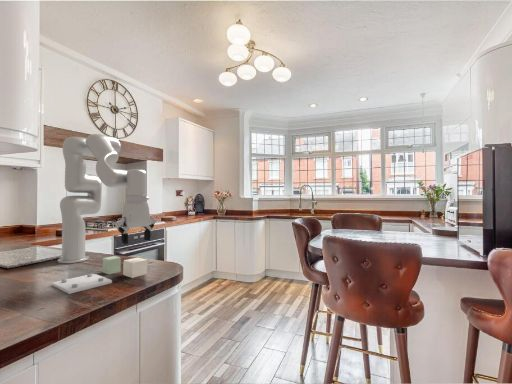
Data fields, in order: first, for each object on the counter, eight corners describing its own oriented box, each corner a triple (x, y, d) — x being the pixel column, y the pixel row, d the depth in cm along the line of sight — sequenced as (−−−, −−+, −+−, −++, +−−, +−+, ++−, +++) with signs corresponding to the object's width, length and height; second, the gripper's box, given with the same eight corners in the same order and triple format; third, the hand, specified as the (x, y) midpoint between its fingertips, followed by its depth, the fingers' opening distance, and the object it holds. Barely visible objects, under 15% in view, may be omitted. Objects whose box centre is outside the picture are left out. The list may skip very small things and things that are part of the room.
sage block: (102, 272, 114) (102, 258, 114) (114, 269, 118) (114, 255, 118) (108, 274, 111) (108, 259, 111) (120, 271, 115) (120, 257, 115)
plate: (52, 285, 98) (52, 280, 98) (93, 275, 109) (93, 271, 109) (69, 294, 90) (69, 288, 90) (112, 282, 101) (112, 278, 101)
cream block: (123, 275, 111) (123, 260, 111) (138, 271, 116) (138, 257, 116) (132, 278, 107) (132, 262, 107) (147, 274, 113) (147, 259, 113)
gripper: (150, 199, 121) (149, 238, 121) (110, 200, 107) (110, 244, 107) (160, 199, 117) (160, 239, 117) (120, 200, 103) (120, 245, 102)
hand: (136, 241), depth 112 cm, fingers open, 9 cm apart
